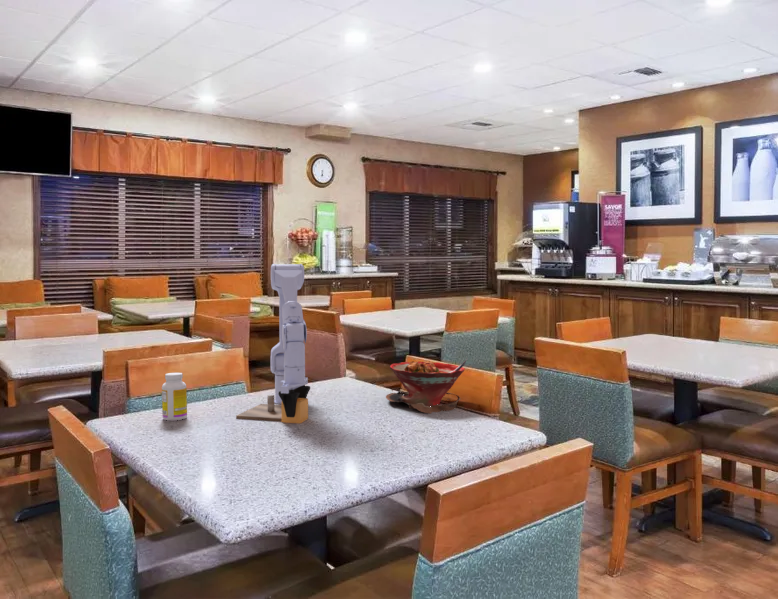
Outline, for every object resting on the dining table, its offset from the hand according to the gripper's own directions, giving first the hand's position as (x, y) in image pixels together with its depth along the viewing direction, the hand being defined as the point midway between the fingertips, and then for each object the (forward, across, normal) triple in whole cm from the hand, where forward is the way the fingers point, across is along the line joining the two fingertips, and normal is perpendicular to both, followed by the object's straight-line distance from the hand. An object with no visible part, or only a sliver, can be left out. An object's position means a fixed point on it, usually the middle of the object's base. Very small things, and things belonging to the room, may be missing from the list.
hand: (294, 414), depth 183 cm
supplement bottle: (+2, +6, -34) cm, 35 cm away
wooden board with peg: (+2, -6, -10) cm, 12 cm away
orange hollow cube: (+2, 0, 0) cm, 2 cm away
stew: (+2, -29, +32) cm, 44 cm away
